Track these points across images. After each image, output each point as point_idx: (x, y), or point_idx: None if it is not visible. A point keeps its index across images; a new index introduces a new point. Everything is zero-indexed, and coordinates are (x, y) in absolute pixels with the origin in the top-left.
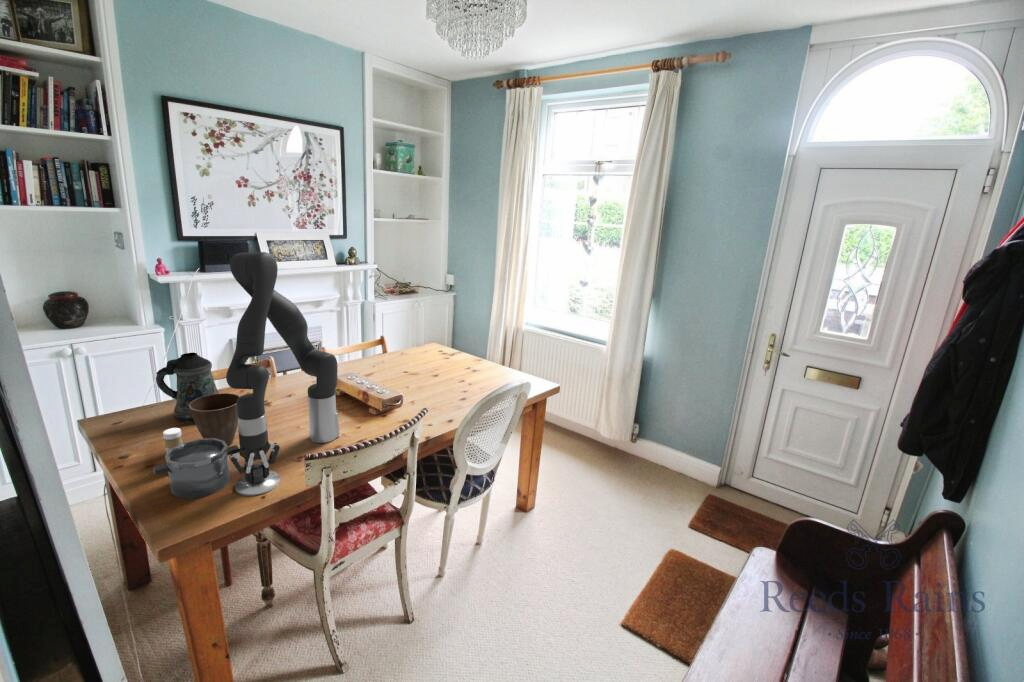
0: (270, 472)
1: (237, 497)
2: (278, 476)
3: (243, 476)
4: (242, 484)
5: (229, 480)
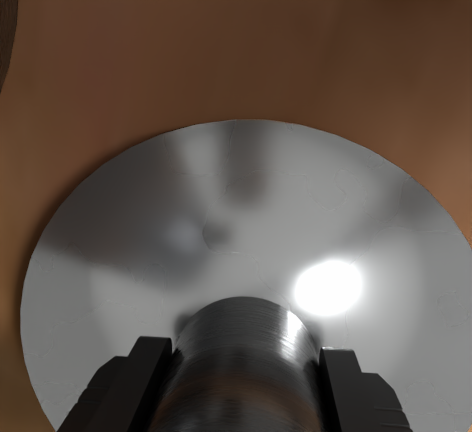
0: (439, 267)
1: (38, 424)
2: (466, 409)
3: (134, 156)
4: (89, 323)
5: (3, 77)
